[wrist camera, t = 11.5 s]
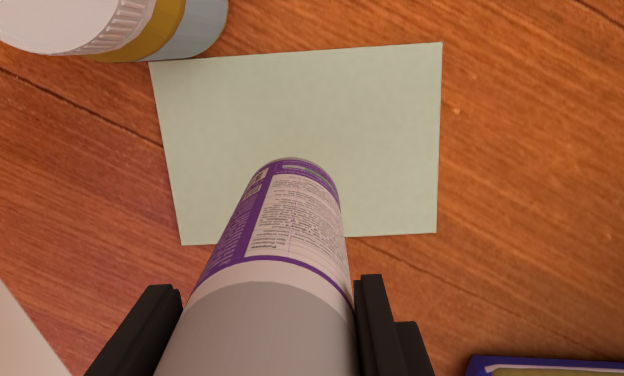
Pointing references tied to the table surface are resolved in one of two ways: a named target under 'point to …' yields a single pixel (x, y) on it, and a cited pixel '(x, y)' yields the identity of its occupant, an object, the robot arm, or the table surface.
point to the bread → (540, 367)
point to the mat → (305, 132)
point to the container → (273, 286)
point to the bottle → (113, 27)
